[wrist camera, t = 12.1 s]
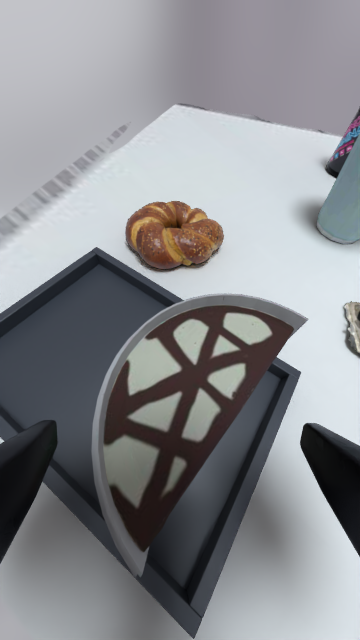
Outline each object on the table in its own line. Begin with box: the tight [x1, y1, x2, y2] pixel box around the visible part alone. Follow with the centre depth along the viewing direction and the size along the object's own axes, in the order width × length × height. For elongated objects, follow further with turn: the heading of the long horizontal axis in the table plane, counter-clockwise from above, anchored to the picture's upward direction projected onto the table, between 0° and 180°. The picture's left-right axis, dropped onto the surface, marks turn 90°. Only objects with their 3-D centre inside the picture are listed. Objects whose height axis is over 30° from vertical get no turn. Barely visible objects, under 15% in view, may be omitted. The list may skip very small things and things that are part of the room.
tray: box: [0, 247, 301, 639], centre depth 18 cm, size 17×24×2 cm
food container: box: [91, 293, 308, 577], centre depth 14 cm, size 12×6×10 cm, turn 139°
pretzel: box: [125, 201, 224, 269], centre depth 27 cm, size 12×11×4 cm
